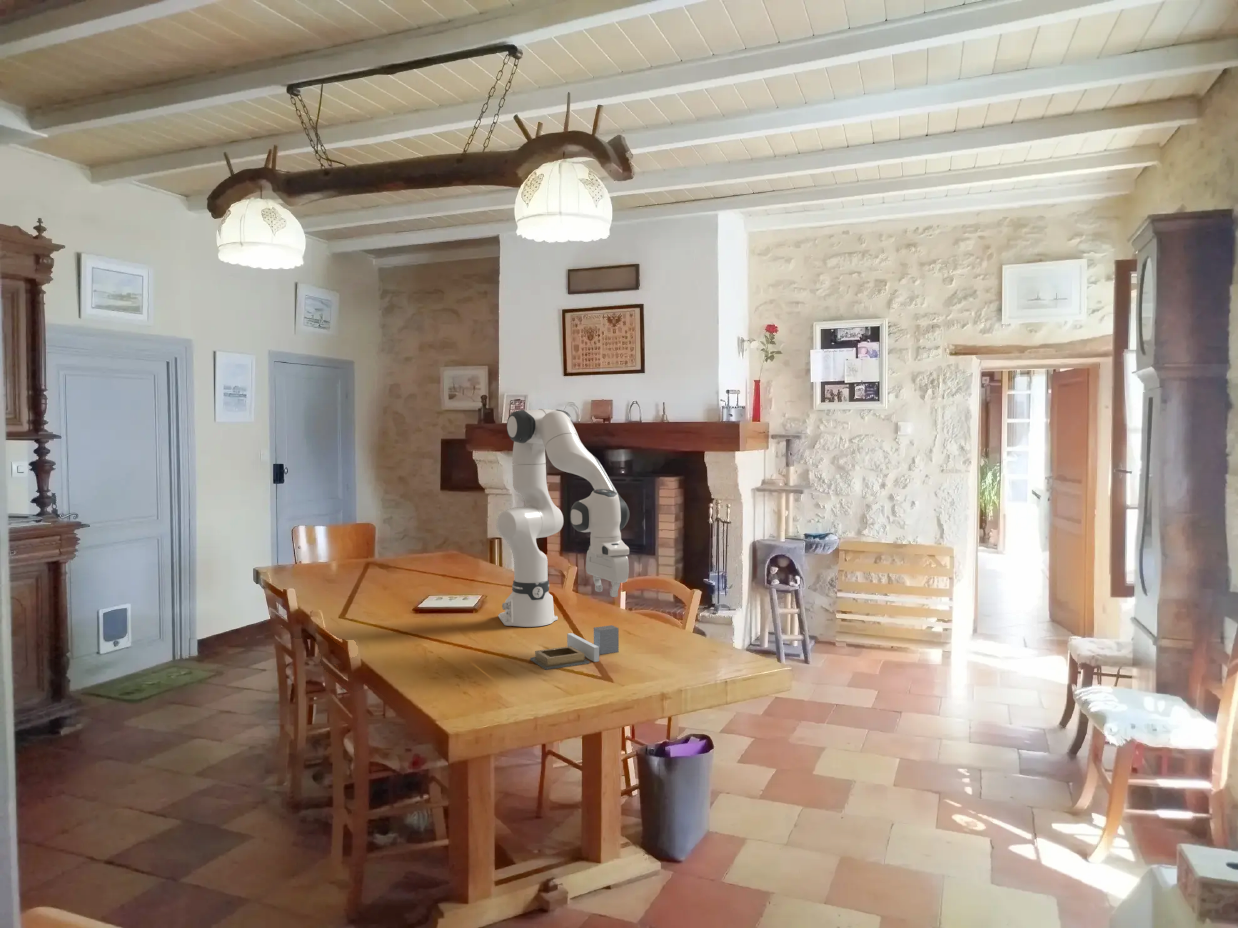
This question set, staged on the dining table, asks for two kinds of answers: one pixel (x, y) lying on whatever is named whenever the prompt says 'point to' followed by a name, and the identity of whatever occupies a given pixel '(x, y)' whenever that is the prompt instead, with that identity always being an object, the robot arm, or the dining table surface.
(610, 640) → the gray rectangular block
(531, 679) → the dining table surface
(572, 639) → the door edge
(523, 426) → the robot arm
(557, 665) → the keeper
